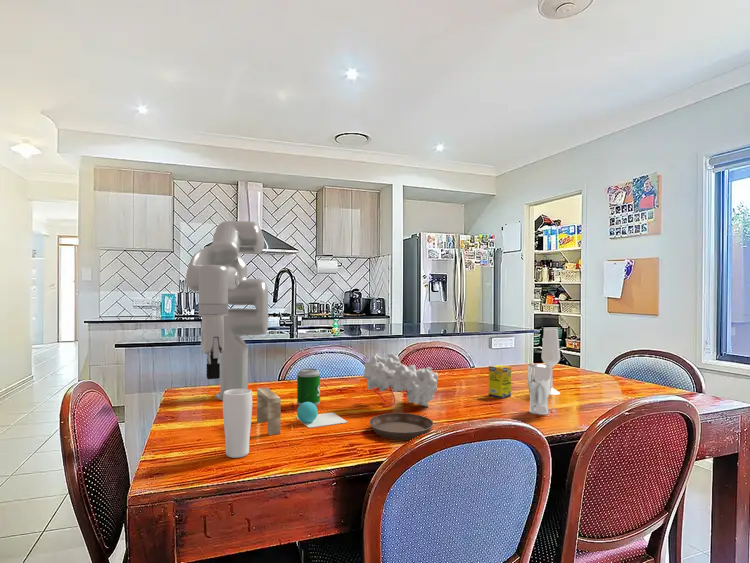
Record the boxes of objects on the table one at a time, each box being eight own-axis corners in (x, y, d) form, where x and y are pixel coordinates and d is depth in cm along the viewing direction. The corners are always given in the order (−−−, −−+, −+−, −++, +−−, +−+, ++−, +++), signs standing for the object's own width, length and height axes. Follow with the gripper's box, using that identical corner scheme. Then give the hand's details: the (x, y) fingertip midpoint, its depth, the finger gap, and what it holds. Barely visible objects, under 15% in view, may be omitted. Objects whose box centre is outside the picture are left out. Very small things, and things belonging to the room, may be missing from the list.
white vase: (550, 410, 155) (550, 364, 155) (550, 416, 149) (550, 367, 149) (527, 408, 158) (527, 362, 158) (527, 414, 151) (527, 366, 151)
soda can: (315, 409, 157) (315, 372, 157) (293, 408, 158) (293, 371, 158) (322, 403, 164) (322, 368, 164) (301, 402, 166) (301, 367, 166)
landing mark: (296, 417, 147) (296, 416, 147) (332, 413, 152) (332, 412, 152) (308, 428, 136) (308, 427, 136) (347, 422, 141) (347, 422, 141)
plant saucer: (444, 439, 127) (444, 427, 127) (379, 445, 122) (379, 433, 122) (419, 421, 144) (419, 411, 144) (361, 426, 139) (361, 415, 139)
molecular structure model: (394, 419, 172) (342, 385, 162) (417, 373, 178) (368, 337, 168) (428, 431, 155) (372, 394, 145) (452, 380, 161) (400, 341, 151)
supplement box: (502, 398, 171) (502, 368, 171) (488, 396, 176) (488, 365, 176) (511, 396, 175) (511, 366, 175) (497, 393, 180) (497, 364, 180)
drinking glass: (226, 450, 118) (226, 388, 118) (254, 449, 118) (254, 388, 118) (219, 460, 111) (219, 395, 111) (249, 459, 112) (249, 394, 112)
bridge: (269, 435, 130) (269, 399, 130) (256, 421, 143) (257, 388, 143) (280, 433, 131) (280, 397, 131) (267, 419, 144) (267, 387, 145)
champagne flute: (563, 394, 178) (563, 329, 178) (544, 394, 178) (544, 329, 178) (556, 390, 185) (556, 328, 185) (538, 390, 185) (538, 327, 185)
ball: (314, 399, 146) (315, 419, 145) (294, 401, 143) (295, 422, 143) (319, 402, 140) (320, 423, 140) (298, 404, 138) (299, 426, 137)
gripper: (195, 309, 136) (195, 374, 136) (202, 312, 122) (201, 384, 122) (223, 309, 139) (223, 372, 139) (232, 311, 126) (232, 382, 125)
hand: (213, 378), depth 131 cm, fingers closed
